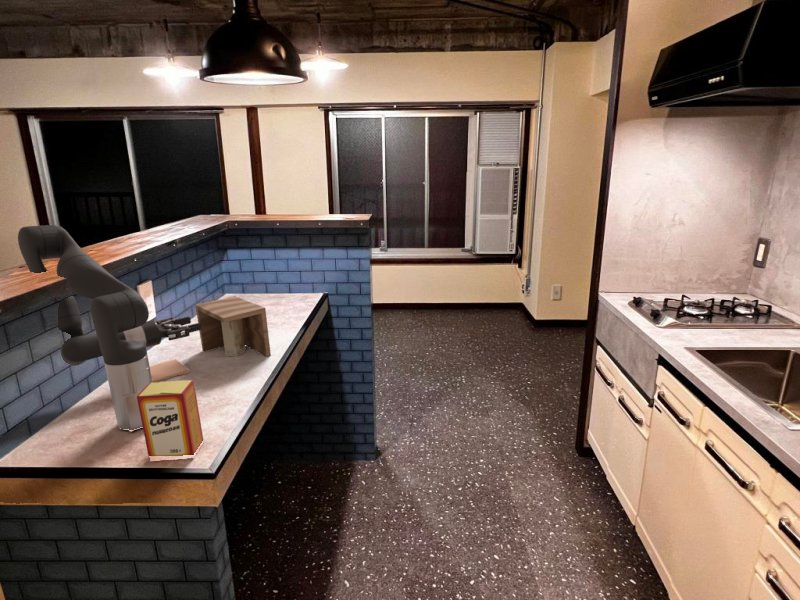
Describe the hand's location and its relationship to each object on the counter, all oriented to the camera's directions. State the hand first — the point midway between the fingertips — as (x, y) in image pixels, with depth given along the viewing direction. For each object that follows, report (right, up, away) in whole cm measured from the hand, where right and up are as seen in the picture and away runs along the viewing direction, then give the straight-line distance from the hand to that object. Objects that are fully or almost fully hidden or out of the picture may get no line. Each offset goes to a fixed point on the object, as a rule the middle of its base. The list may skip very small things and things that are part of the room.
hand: (195, 322), depth 157 cm
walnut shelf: (+9, -11, +11) cm, 18 cm away
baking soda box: (+15, -27, -46) cm, 55 cm away
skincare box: (+9, -11, +11) cm, 18 cm away
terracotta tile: (-9, -15, -3) cm, 18 cm away
